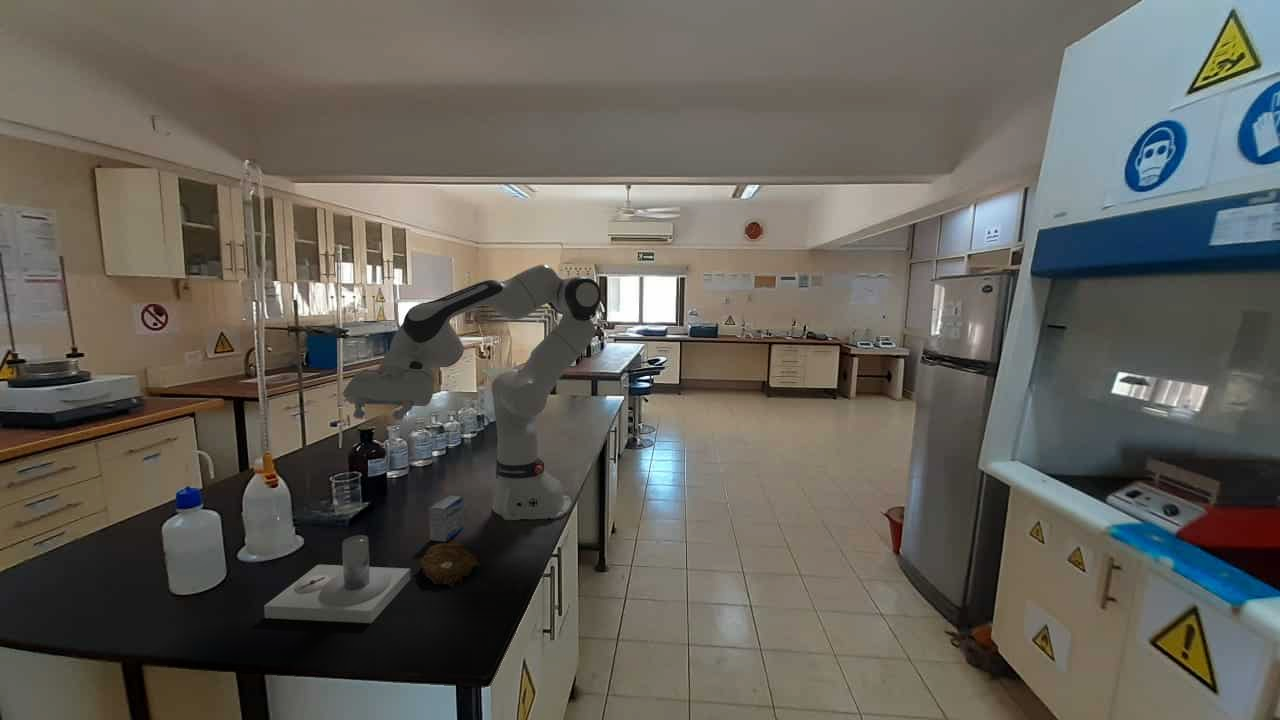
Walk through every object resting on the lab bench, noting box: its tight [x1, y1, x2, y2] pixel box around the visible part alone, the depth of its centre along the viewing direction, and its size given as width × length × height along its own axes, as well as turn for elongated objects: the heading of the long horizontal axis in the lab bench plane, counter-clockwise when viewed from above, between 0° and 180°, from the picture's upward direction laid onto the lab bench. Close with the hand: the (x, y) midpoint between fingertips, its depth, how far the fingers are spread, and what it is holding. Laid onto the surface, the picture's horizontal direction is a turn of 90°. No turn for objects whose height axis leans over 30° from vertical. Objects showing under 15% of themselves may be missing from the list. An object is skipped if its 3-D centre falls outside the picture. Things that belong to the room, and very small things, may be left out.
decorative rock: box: [418, 540, 480, 587], centre depth 105 cm, size 11×4×15 cm
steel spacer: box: [341, 534, 370, 590], centre depth 93 cm, size 4×4×9 cm
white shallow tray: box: [263, 564, 411, 624], centre depth 94 cm, size 20×14×3 cm
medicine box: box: [428, 495, 464, 543], centre depth 120 cm, size 8×4×9 cm, turn 168°
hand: (377, 418), depth 111 cm, fingers open, 8 cm apart
